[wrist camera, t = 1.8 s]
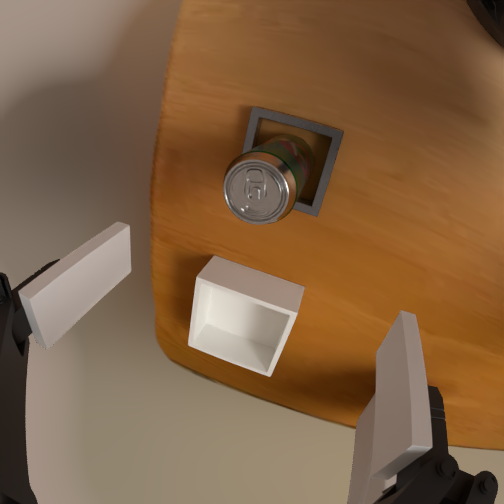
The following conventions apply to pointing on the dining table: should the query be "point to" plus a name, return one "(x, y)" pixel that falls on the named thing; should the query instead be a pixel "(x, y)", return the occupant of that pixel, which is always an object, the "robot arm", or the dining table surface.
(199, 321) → the bin
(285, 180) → the soda can
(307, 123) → the socket ring
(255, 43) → the dining table surface
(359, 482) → the vase
